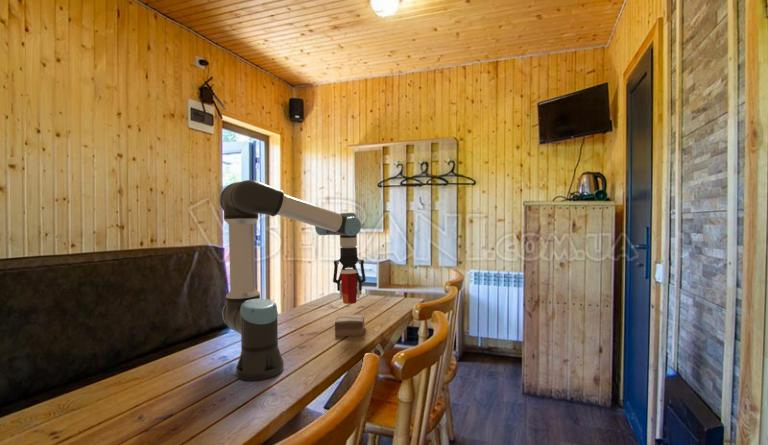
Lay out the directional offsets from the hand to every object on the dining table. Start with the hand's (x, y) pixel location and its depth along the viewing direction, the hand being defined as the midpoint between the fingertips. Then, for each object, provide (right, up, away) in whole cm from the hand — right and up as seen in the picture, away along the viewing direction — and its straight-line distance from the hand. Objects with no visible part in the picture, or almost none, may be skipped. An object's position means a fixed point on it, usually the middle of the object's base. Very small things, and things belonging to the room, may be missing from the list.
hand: (349, 297), depth 164 cm
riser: (0, -15, 0) cm, 15 cm away
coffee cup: (0, -2, 0) cm, 2 cm away
